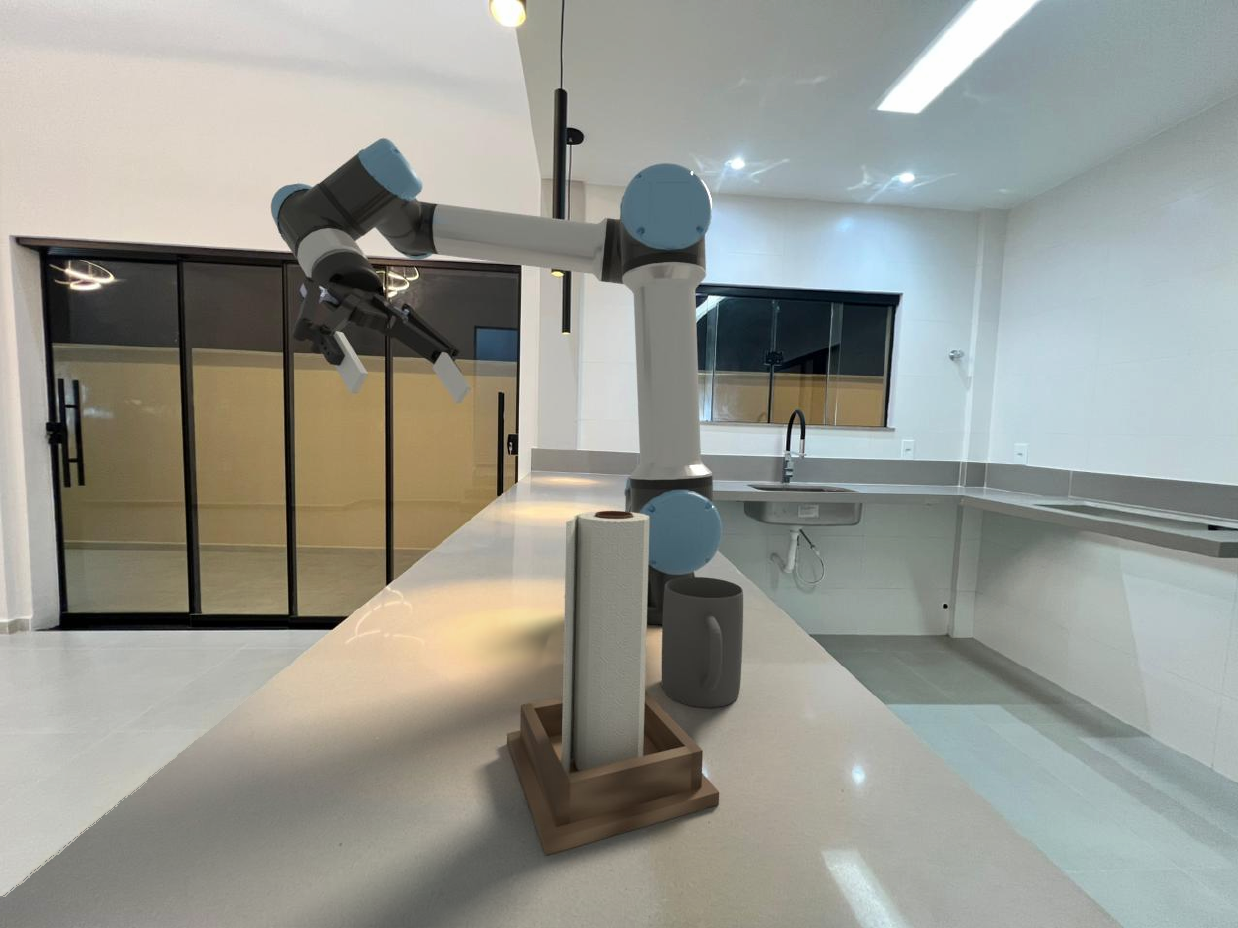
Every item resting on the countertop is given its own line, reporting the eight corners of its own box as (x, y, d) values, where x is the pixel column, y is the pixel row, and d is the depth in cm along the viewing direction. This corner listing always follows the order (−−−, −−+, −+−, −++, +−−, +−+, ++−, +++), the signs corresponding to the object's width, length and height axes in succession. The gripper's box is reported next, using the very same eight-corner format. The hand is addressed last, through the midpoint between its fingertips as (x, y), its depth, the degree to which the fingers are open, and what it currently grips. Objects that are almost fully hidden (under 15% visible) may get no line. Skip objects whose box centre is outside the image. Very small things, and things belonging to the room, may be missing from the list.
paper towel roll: (635, 738, 48) (641, 508, 47) (650, 780, 42) (657, 518, 41) (557, 743, 47) (562, 508, 46) (561, 788, 41) (566, 518, 40)
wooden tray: (642, 715, 54) (643, 678, 54) (718, 804, 41) (720, 754, 41) (507, 743, 48) (507, 701, 48) (545, 855, 35) (546, 798, 35)
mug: (657, 670, 65) (660, 575, 64) (730, 672, 65) (734, 577, 64) (668, 731, 51) (671, 611, 50) (760, 734, 51) (765, 614, 50)
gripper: (413, 319, 78) (482, 419, 71) (217, 271, 57) (286, 405, 50) (437, 278, 75) (511, 378, 68) (238, 211, 54) (316, 345, 47)
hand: (416, 390), depth 59 cm, fingers open, 13 cm apart
